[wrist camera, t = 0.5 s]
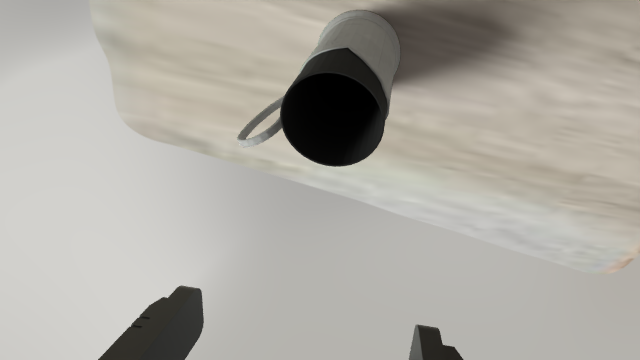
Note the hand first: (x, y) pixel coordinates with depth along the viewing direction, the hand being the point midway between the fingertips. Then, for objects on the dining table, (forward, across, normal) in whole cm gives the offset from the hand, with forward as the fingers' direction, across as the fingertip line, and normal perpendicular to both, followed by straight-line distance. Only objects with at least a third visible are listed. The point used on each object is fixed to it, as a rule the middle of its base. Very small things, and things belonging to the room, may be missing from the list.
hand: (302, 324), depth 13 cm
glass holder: (+29, +3, -9) cm, 30 cm away
